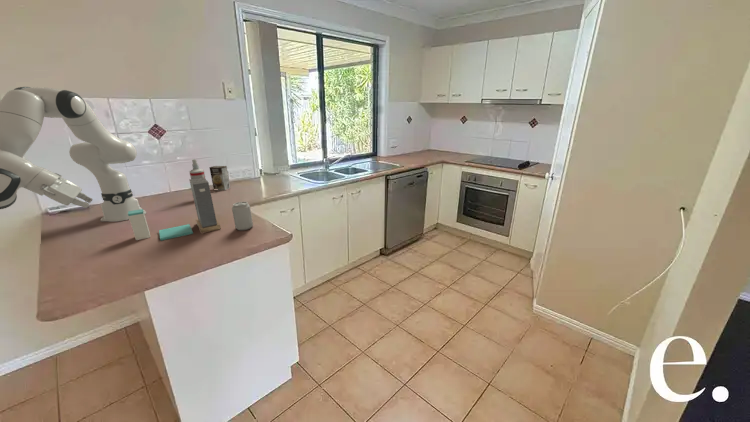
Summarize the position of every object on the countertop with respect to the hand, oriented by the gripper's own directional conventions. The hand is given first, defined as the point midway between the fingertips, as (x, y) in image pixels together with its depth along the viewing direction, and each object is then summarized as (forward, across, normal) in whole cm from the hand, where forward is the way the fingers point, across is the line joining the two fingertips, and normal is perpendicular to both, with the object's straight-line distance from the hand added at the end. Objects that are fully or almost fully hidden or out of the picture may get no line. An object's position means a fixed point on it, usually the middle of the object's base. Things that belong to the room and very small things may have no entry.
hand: (89, 203), depth 118 cm
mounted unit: (+40, -4, -14) cm, 42 cm away
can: (+49, -18, -23) cm, 57 cm away
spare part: (+22, 0, +3) cm, 22 cm away
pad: (+30, -4, -5) cm, 31 cm away
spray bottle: (+43, +50, -18) cm, 69 cm away
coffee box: (+54, +71, -29) cm, 94 cm away
